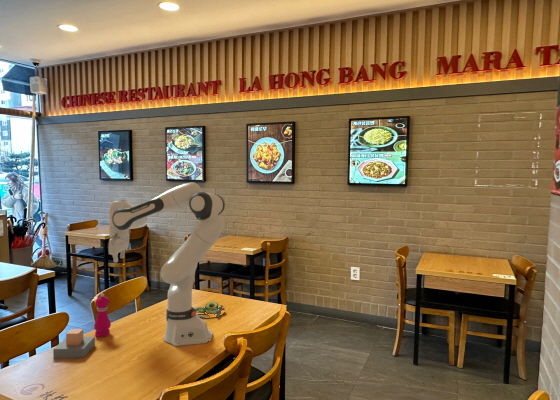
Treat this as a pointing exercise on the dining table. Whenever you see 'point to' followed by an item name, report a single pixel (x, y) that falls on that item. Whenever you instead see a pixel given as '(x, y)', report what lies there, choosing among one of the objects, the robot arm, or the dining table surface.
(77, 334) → the terracotta block
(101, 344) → the dining table surface
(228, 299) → the dining table surface
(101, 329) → the pepper mill
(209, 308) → the salad plate
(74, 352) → the grey square slab
